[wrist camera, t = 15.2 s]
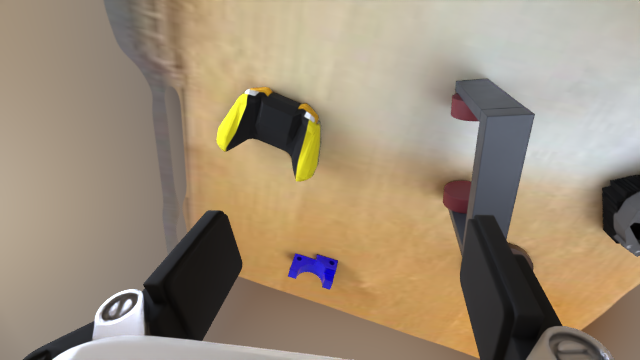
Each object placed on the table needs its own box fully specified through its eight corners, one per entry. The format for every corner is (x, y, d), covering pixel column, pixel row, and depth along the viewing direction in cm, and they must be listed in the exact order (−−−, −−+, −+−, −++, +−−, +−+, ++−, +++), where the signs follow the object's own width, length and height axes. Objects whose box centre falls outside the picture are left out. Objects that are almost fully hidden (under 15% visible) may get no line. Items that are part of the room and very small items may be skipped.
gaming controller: (315, 171, 48) (338, 114, 43) (307, 189, 43) (332, 128, 38) (227, 134, 48) (239, 73, 43) (209, 149, 43) (220, 82, 38)
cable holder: (337, 260, 57) (334, 277, 53) (333, 273, 59) (329, 289, 55) (297, 247, 57) (291, 263, 54) (293, 260, 59) (288, 276, 55)
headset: (495, 77, 37) (546, 113, 25) (476, 198, 45) (508, 268, 33) (449, 81, 38) (477, 116, 26) (439, 198, 46) (457, 265, 34)
